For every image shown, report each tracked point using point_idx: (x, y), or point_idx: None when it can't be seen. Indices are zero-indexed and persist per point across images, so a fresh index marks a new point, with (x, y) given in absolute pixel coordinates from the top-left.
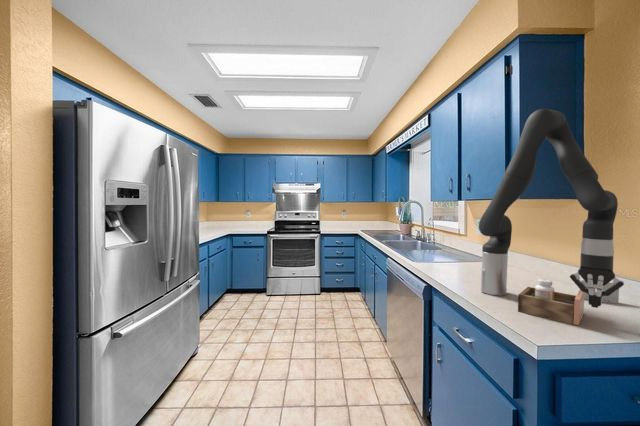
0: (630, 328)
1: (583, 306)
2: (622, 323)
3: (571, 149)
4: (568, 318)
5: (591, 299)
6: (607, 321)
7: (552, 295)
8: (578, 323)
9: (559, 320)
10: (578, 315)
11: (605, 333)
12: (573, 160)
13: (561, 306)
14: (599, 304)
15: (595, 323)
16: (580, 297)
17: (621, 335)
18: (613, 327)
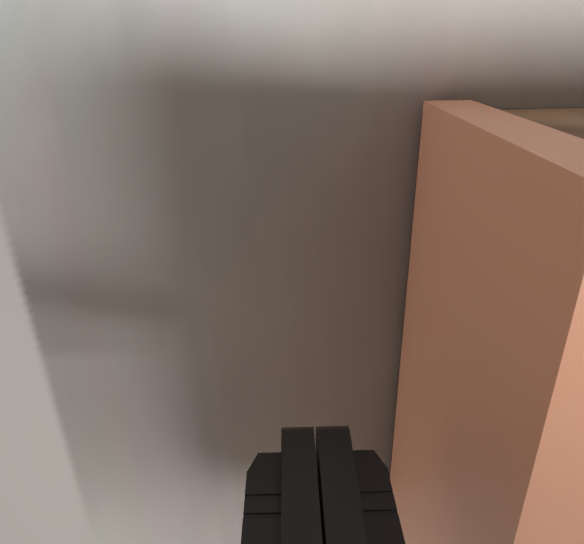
0: (79, 408)
1: (407, 537)
2: (144, 479)
3: None
4: (542, 116)
5: (363, 525)
6: (229, 449)
7: None
8: (430, 104)
9: None
10: (468, 116)
11: (189, 81)
12: None
13: None
14: (261, 478)
15: (294, 329)
16: (554, 416)
17: (77, 151)
18: (170, 335)
